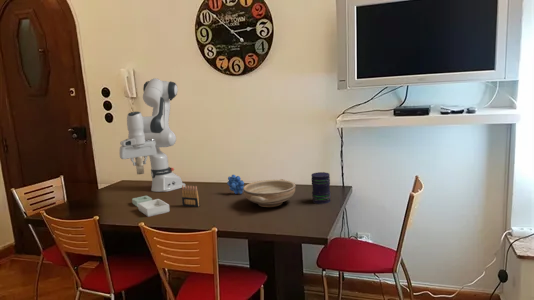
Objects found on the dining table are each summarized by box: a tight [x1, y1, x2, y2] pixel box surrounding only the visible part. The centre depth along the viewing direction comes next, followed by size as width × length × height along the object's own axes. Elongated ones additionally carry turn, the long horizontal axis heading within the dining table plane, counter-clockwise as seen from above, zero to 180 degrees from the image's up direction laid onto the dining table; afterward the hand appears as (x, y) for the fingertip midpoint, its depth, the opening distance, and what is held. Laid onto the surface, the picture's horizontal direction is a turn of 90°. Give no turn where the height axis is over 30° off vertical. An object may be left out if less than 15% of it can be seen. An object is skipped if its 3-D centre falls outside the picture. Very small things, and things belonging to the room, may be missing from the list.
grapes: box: [227, 174, 245, 195], centre depth 251 cm, size 12×7×12 cm, turn 65°
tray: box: [137, 198, 171, 218], centre depth 229 cm, size 12×16×4 cm
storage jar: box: [311, 171, 332, 205], centre depth 225 cm, size 10×10×15 cm
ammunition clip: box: [181, 185, 201, 208], centre depth 233 cm, size 11×2×12 cm, turn 65°
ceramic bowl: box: [242, 178, 296, 208], centre depth 228 cm, size 37×29×10 cm
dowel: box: [134, 156, 145, 175], centre depth 238 cm, size 4×4×10 cm
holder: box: [131, 195, 153, 208], centre depth 246 cm, size 9×9×3 cm
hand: (139, 164), depth 238 cm, fingers closed on dowel, 4 cm apart
